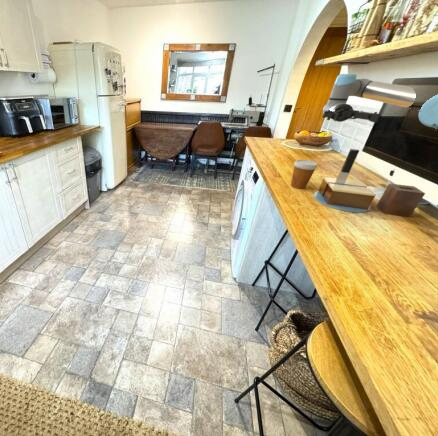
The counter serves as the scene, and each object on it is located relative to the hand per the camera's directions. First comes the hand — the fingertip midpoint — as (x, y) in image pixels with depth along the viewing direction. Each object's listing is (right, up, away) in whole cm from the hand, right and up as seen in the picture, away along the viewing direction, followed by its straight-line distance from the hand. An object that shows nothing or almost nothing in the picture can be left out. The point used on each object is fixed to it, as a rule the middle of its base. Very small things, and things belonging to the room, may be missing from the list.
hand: (357, 118), depth 95 cm
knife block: (+14, -37, 0) cm, 40 cm away
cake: (-1, -33, +8) cm, 33 cm away
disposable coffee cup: (-10, -24, +21) cm, 34 cm away
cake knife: (-4, -31, +8) cm, 33 cm away
